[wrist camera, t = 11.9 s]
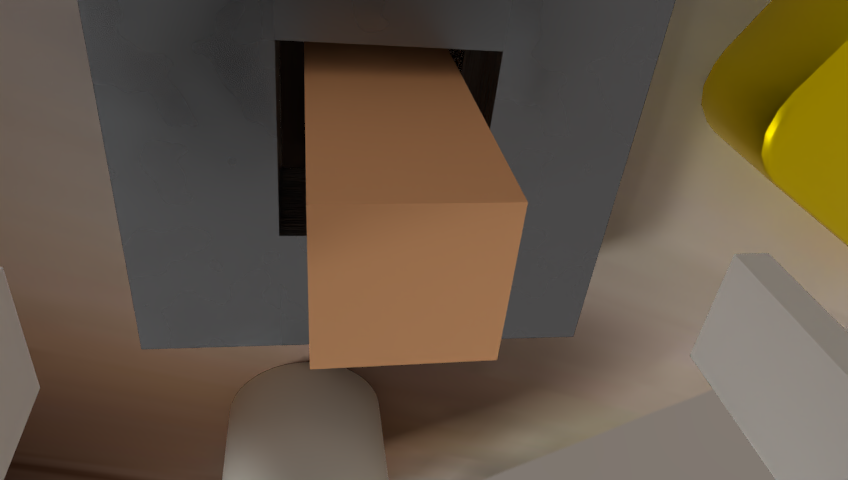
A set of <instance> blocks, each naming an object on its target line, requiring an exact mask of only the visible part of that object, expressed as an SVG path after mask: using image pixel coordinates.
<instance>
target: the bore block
mask: <svg viewBox="0 0 848 480" xmlns="http://www.w3.org/2000/svg"><path fill="white" fill-rule="evenodd" d="M674 4H675V0H78V6H79V11H80V16H81V22H82V27H83V33H84V38H85V44H86V49H87V55H88V60H89V66H90V71H91V76H92V82H93V87H94V93H95V98H96V104H97V109H98V115H99V120H100V125H101V131H102V136H103V142H104V147H105V153H106V158H107V164H108V169H109V175H110V180H111V185H112V191H113V196H114V202H115V207H116V213H117V218H118V224H119V229H120V234H121V240H122V245H123V251H124V256H125V262H126V267H127V273H128V278H129V284H130V289H131V294H132V300H133V305H134V311H135V316H136V322H137V327H138V333H139V338H140V343H141V349H168V348H202V347H236V346H270V345H304V344H309V310H308V264H307V218H306V168H282V132H281V80H280V40H286V41H306V42H326V43H346V44H365V45H385V46H405V47H425V48H444V49H464V57H463V64H462V71H461V75H462V77H463V79H464V81H465V83H466V85H467V87H468V89H469V90H470V92H471V94H472V96H473V98H474V100H475V102H476V104H477V106H478V108H479V110H480V111H481V113H482V115H483V117H484V119H485V121H486V123H487V125H488V127H489V129H490V131H491V133H492V134H493V136H494V138H495V140H496V142H497V144H498V146H499V148H500V150H501V152H502V154H503V156H504V157H505V159H506V161H507V163H508V165H509V167H510V169H511V171H512V173H513V175H514V177H515V178H516V180H517V182H518V184H519V186H520V188H521V190H522V192H523V194H524V196H525V198H526V200H527V201H528V205H527V210H526V215H525V220H524V225H523V230H522V235H521V241H520V246H519V251H518V256H517V261H516V266H515V271H514V276H513V281H512V287H511V292H510V297H509V302H508V307H507V312H506V317H505V322H504V327H503V332H502V338H501V339H508V338H542V337H573V336H574V332H575V329H576V326H577V322H578V319H579V316H580V313H581V309H582V306H583V303H584V299H585V296H586V293H587V290H588V286H589V283H590V280H591V276H592V273H593V270H594V267H595V263H596V260H597V257H598V253H599V250H600V247H601V244H602V240H603V237H604V234H605V230H606V227H607V224H608V221H609V217H610V214H611V211H612V207H613V204H614V201H615V198H616V194H617V191H618V188H619V184H620V181H621V178H622V175H623V171H624V168H625V165H626V161H627V158H628V155H629V152H630V148H631V145H632V142H633V138H634V135H635V132H636V129H637V125H638V122H639V119H640V115H641V112H642V109H643V106H644V102H645V99H646V96H647V92H648V89H649V86H650V83H651V79H652V76H653V73H654V69H655V66H656V63H657V60H658V56H659V53H660V50H661V46H662V43H663V40H664V37H665V33H666V30H667V27H668V23H669V20H670V17H671V14H672V10H673V7H674Z"/></svg>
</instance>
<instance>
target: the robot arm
mask: <svg viewBox="0 0 848 480" xmlns="http://www.w3.org/2000/svg"><path fill="white" fill-rule="evenodd" d="M690 357H691V358H692V359H693V361H694V362H695V364H696V365H697V367H698V368H699V370H700V371H701V373H702V374H703V375H704V377H705V378H706V380H707V381H708V383H709V384H710V386H711V387H712V388H713V390H714V391H715V393H716V394H717V396H718V397H719V399H720V400H721V401H722V403H723V404H724V406H725V407H726V409H727V410H728V412H729V413H730V414H731V416H732V418H733V419H734V420H735V422H736V423H737V425H738V426H739V428H740V429H741V430H742V432H743V434H744V435H745V436H746V438H747V439H748V441H749V442H750V444H751V445H752V447H753V448H754V449H755V451H756V452H757V454H758V455H759V457H760V458H761V459H762V461H763V463H764V464H765V465H766V467H767V468H768V470H769V471H770V473H771V474H772V476H773V477H774V478H775V480H848V333H847V331H846V330H845V329H844V328H843V327H842V326H841V325H840V324H839V323H838V322H837V321H836V320H835V319H834V318H833V317H832V316H831V315H830V314H829V313H828V312H827V311H826V310H825V309H824V308H823V307H822V306H821V305H820V304H819V303H818V302H817V301H816V300H815V299H814V298H813V297H812V296H811V295H810V294H809V293H808V292H807V291H806V290H805V289H804V288H803V287H802V286H801V285H800V284H799V283H798V282H797V281H796V280H795V279H794V278H793V277H792V276H791V275H790V274H789V273H788V272H787V271H786V270H785V269H784V268H783V267H782V266H781V265H780V264H779V263H778V262H777V261H776V260H775V259H774V258H773V257H772V256H771V255H770V254H769V253H754V254H734V256H733V258H732V261H731V263H730V265H729V267H728V270H727V272H726V274H725V276H724V279H723V281H722V283H721V286H720V288H719V290H718V292H717V295H716V297H715V299H714V301H713V304H712V306H711V308H710V311H709V313H708V315H707V317H706V320H705V322H704V324H703V326H702V329H701V331H700V333H699V335H698V338H697V340H696V342H695V345H694V347H693V349H692V351H691V354H690ZM39 389H40V386H39V382H38V379H37V376H36V373H35V370H34V366H33V363H32V360H31V357H30V353H29V350H28V347H27V344H26V341H25V337H24V334H23V331H22V328H21V324H20V321H19V318H18V315H17V311H16V308H15V305H14V302H13V299H12V295H11V292H10V289H9V286H8V282H7V279H6V276H5V273H4V269H3V267H0V480H4V478H5V475H6V473H7V470H8V468H9V465H10V463H11V460H12V458H13V455H14V453H15V450H16V448H17V445H18V443H19V440H20V437H21V435H22V432H23V430H24V427H25V425H26V422H27V420H28V417H29V415H30V412H31V410H32V407H33V405H34V402H35V400H36V397H37V394H38V392H39Z"/></svg>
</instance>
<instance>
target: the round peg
mask: <svg viewBox="0 0 848 480" xmlns="http://www.w3.org/2000/svg"><path fill="white" fill-rule="evenodd" d="M222 480H388V473H387V465H386V457H385V449H384V441H383V433H382V425H381V417H380V409H379V402H378V398H377V396H376V393H375V391H374V390H373V388H372V387H371V386H370V384H369V383H368V382H367V381H366V380H364V379H363V378H362V377H361V376H359V375H358V374H356V373H354V372H353V371H350V370H348V369H346V368H330V369H310V362H300V363H292V364H286V365H282V366H279V367H275V368H272V369H270V370H267V371H265V372H263V373H261V374H259V375H257V376H256V377H254V378H253V379H251V380H250V381H249V382H247V383H246V384H245V385H244V386H243V387H242V388H241V389H240V390H239V391H238V393H237V394H236V396H235V397H234V399H233V402H232V404H231V408H230V413H229V422H228V431H227V440H226V449H225V459H224V468H223V477H222Z"/></svg>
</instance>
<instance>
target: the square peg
mask: <svg viewBox="0 0 848 480" xmlns="http://www.w3.org/2000/svg"><path fill="white" fill-rule="evenodd" d="M304 81H305V153H306V218H307V264H308V310H309V356H310V369H330V368H349V367H369V366H389V365H409V364H428V363H448V362H468V361H488V360H497V358H498V353H499V348H500V343H501V338H502V332H503V327H504V322H505V317H506V312H507V307H508V302H509V297H510V292H511V287H512V281H513V276H514V271H515V266H516V261H517V256H518V251H519V246H520V241H521V235H522V230H523V225H524V220H525V215H526V210H527V205H528V201H527V200H526V198H525V196H524V194H523V192H522V190H521V188H520V186H519V184H518V182H517V180H516V178H515V177H514V175H513V173H512V171H511V169H510V167H509V165H508V163H507V161H506V159H505V157H504V156H503V154H502V152H501V150H500V148H499V146H498V144H497V142H496V140H495V138H494V136H493V134H492V133H491V131H490V129H489V127H488V125H487V123H486V121H485V119H484V117H483V115H482V113H481V111H480V110H479V108H478V106H477V104H476V102H475V100H474V98H473V96H472V94H471V92H470V90H469V89H468V87H467V85H466V83H465V81H464V79H463V77H462V75H461V73H460V71H459V69H458V67H457V66H456V64H455V62H454V60H453V58H452V56H451V54H450V52H449V50H448V49H444V48H425V47H405V46H385V45H365V44H346V43H326V42H306V41H304Z"/></svg>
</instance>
